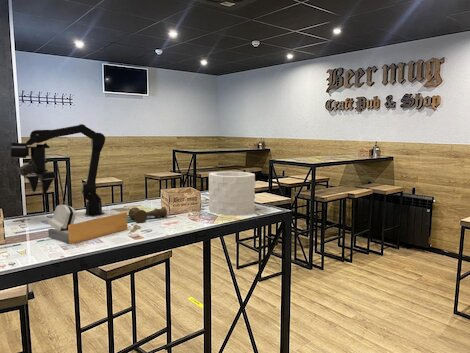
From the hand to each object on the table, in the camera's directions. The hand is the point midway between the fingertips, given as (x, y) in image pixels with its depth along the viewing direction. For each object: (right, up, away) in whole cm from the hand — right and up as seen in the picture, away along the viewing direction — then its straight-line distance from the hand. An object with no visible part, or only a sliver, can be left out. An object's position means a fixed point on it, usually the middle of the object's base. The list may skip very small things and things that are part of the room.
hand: (39, 192), depth 163 cm
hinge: (+15, -14, -9) cm, 22 cm away
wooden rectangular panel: (+30, -15, -19) cm, 38 cm away
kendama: (+47, -13, +3) cm, 49 cm away
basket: (+86, -10, +24) cm, 90 cm away
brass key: (+47, -15, -14) cm, 51 cm away
